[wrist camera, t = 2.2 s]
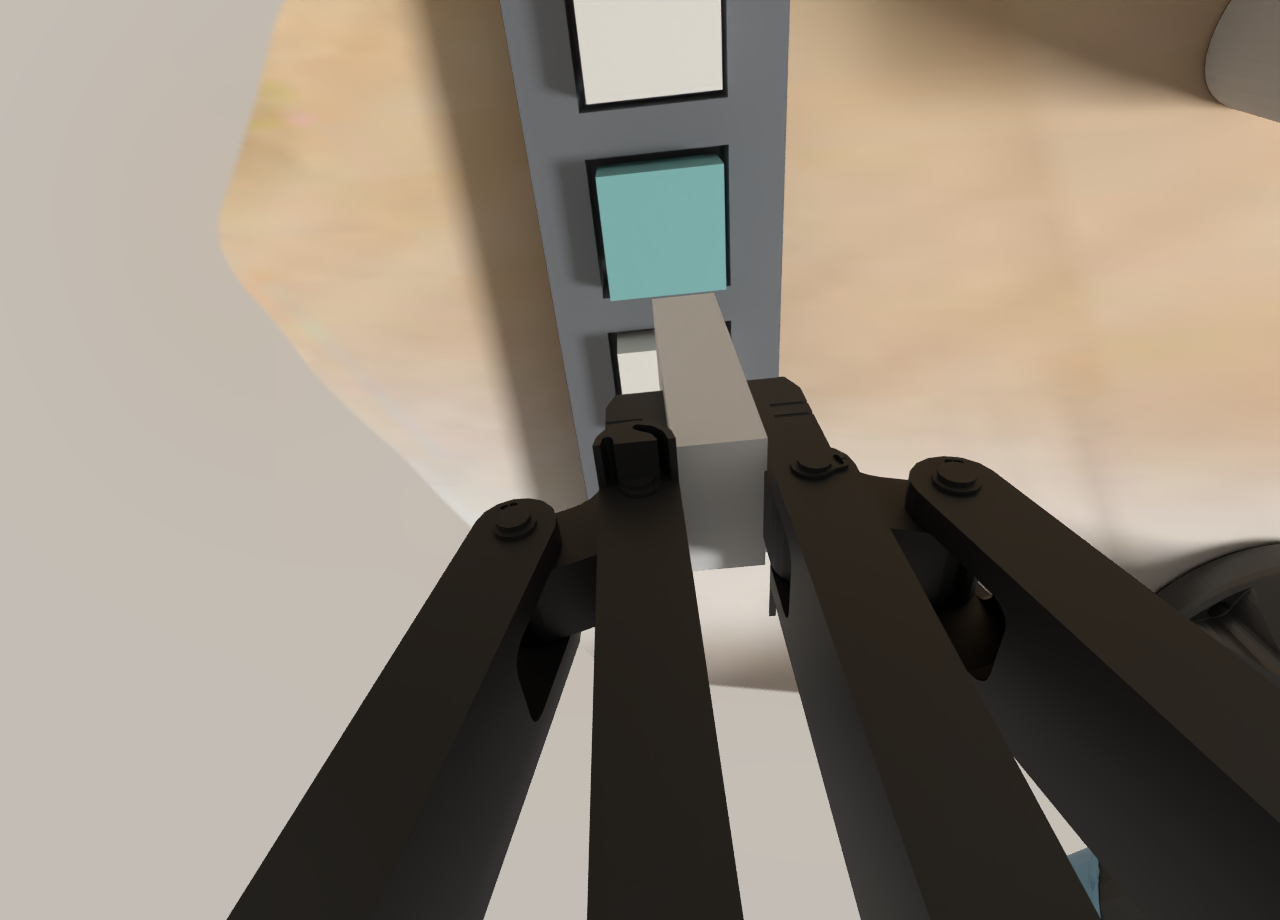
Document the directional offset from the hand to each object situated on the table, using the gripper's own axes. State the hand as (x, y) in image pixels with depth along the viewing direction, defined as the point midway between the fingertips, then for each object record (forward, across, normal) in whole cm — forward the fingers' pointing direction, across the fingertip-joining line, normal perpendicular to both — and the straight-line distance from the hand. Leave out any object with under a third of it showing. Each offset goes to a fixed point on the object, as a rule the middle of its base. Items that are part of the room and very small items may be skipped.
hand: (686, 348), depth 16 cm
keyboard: (+16, 0, +4) cm, 16 cm away
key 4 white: (+13, 0, -7) cm, 15 cm away
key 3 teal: (+13, 0, 0) cm, 13 cm away
